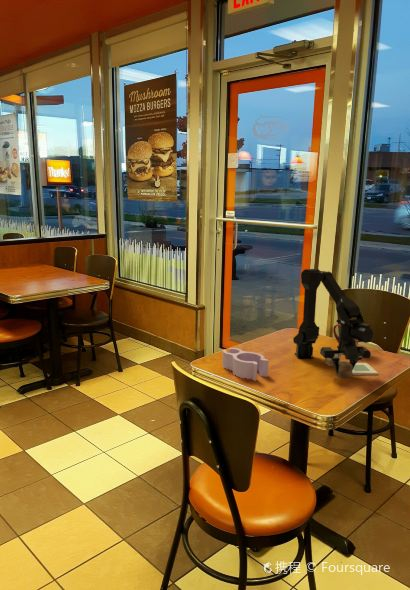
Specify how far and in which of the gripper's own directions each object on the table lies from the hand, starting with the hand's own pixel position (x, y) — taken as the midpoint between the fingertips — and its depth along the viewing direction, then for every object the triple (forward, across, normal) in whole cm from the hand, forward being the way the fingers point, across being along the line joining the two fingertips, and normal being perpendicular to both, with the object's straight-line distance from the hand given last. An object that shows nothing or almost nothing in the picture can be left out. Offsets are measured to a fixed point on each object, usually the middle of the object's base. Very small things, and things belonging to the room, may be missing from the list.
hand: (343, 372), depth 180 cm
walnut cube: (+1, 0, 0) cm, 1 cm away
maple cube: (+1, 0, +13) cm, 13 cm away
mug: (+1, +12, +30) cm, 32 cm away
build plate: (+1, +9, +6) cm, 11 cm away
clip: (+2, -40, +5) cm, 40 cm away
